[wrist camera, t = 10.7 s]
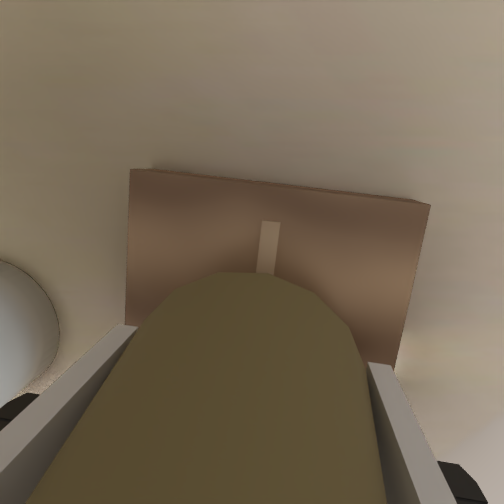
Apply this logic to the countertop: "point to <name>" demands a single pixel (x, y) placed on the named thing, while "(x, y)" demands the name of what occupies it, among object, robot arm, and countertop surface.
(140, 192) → the plate
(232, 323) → the squeeze bottle
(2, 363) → the white dome cap
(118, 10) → the countertop surface
